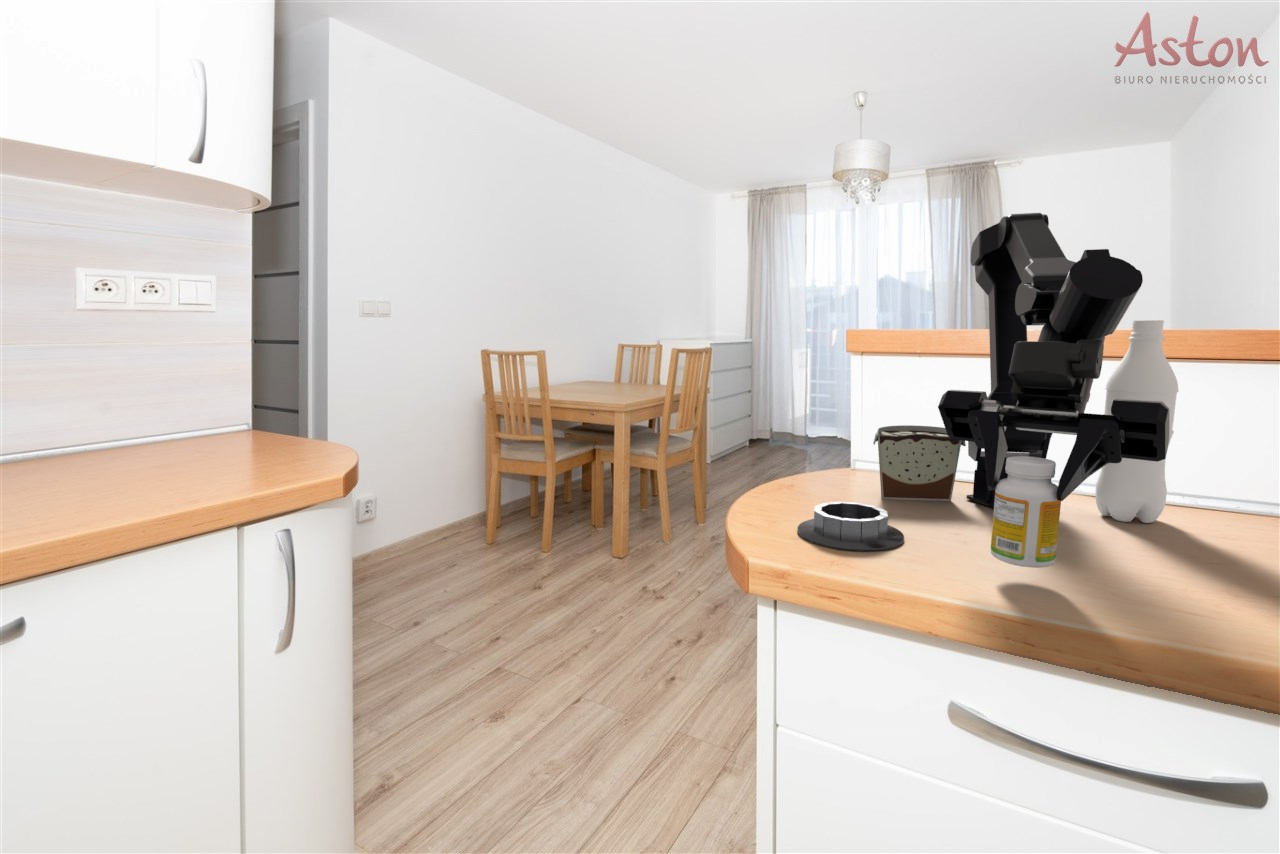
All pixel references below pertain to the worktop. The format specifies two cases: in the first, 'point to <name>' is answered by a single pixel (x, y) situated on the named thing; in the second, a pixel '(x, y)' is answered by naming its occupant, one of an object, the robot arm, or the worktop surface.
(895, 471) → the food container
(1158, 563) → the worktop surface
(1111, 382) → the water bottle
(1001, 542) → the supplement bottle
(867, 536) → the ring collar
